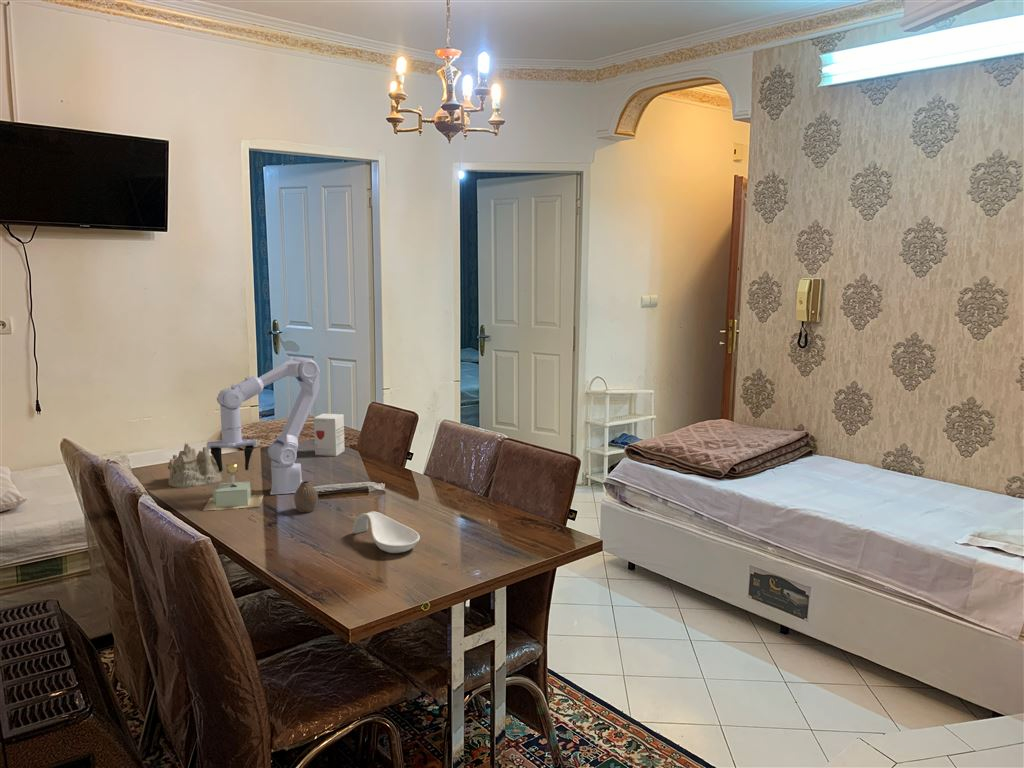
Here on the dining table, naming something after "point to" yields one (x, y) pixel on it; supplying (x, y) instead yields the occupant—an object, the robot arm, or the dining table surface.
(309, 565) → the dining table surface
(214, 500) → the mint green slotted box
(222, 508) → the cork mat
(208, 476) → the sand castle
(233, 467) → the gold rounded piece
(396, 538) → the spoon rest
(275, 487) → the robot arm
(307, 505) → the vase
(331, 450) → the supplement box
